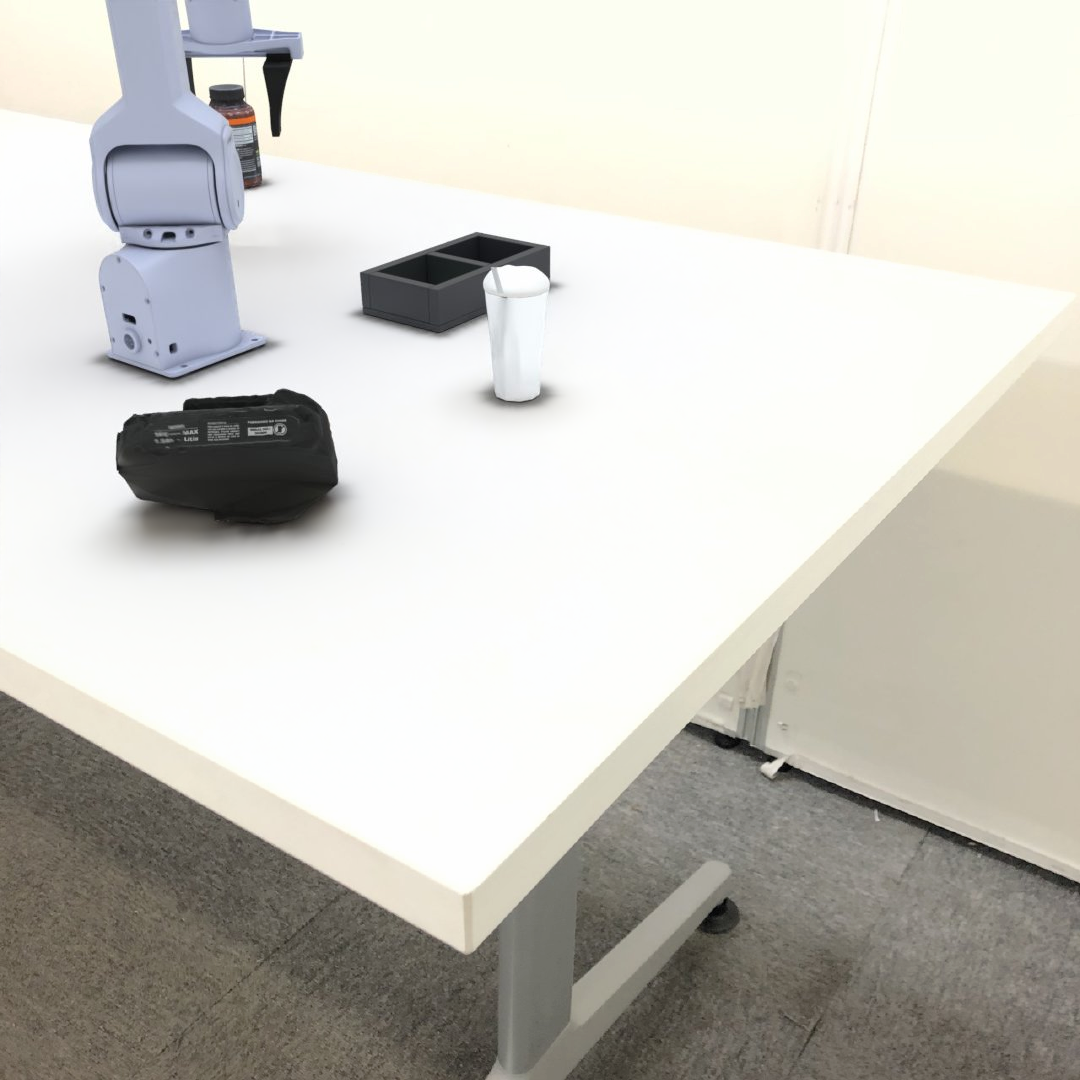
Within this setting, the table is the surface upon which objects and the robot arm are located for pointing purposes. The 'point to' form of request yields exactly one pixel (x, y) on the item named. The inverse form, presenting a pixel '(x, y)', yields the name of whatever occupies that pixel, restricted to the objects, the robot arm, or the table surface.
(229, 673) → the table surface
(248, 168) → the supplement bottle
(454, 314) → the dark grey divided tray
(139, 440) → the battery
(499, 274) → the milkshake
